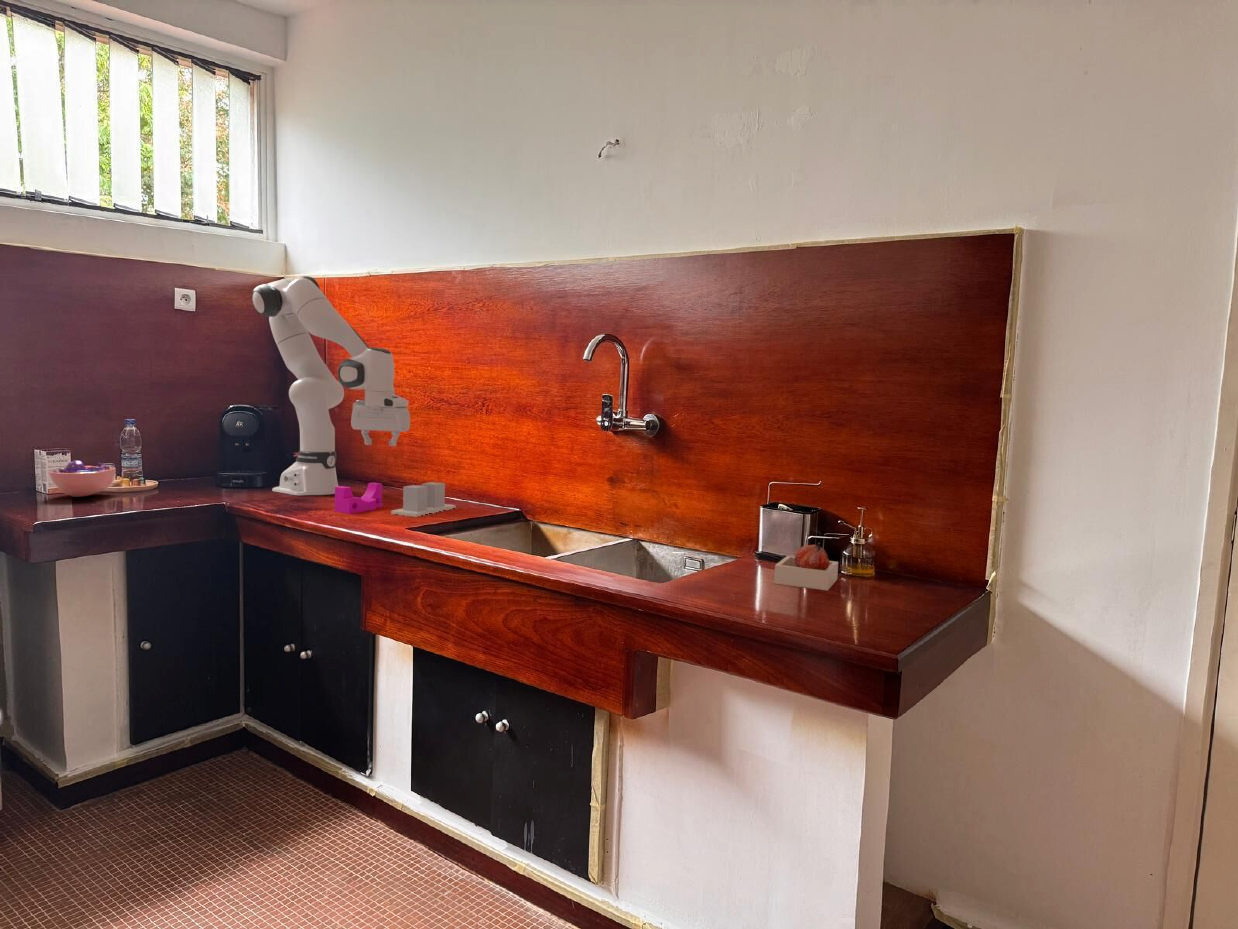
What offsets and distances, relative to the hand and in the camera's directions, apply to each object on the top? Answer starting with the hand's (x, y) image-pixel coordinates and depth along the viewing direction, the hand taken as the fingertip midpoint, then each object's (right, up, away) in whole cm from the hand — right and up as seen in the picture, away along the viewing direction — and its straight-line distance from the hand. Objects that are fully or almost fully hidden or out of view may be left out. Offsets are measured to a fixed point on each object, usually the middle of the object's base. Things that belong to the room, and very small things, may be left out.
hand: (380, 445), depth 269 cm
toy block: (-4, -20, -5) cm, 21 cm away
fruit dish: (+115, -32, -79) cm, 143 cm away
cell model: (-93, -16, +2) cm, 94 cm away
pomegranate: (+115, -32, -78) cm, 143 cm away
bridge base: (+15, -20, -5) cm, 25 cm away
